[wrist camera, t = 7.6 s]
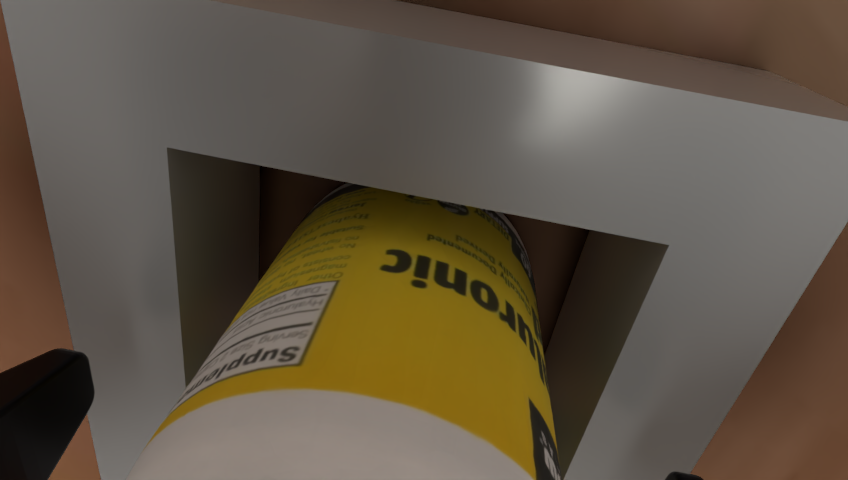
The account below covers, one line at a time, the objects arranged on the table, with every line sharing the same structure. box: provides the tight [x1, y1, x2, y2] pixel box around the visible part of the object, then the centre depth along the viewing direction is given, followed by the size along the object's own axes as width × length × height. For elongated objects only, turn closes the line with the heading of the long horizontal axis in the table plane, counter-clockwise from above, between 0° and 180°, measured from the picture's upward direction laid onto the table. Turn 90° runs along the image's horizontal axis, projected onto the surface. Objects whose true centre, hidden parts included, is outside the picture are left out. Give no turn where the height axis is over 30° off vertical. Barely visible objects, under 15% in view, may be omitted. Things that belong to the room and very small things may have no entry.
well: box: [0, 0, 848, 480], centre depth 11 cm, size 11×11×4 cm
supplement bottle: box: [126, 183, 561, 480], centre depth 8 cm, size 5×5×10 cm
